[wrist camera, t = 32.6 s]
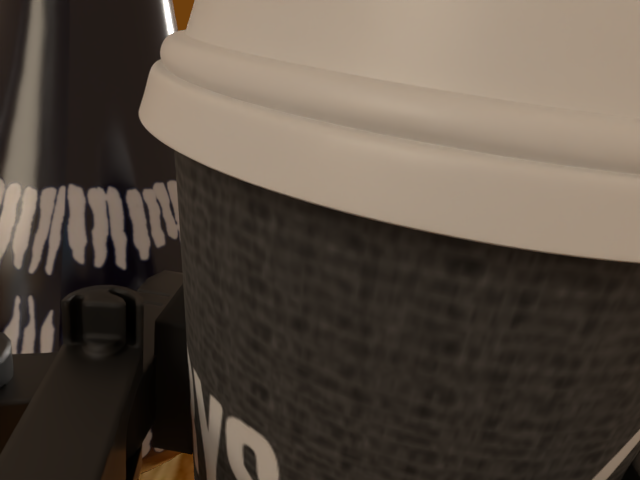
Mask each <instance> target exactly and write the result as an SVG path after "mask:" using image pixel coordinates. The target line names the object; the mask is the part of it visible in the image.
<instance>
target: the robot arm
mask: <svg viewBox="0 0 640 480" xmlns="http://www.w3.org/2000/svg"><path fill="white" fill-rule="evenodd" d="M61 312H62V331H63V344H62V346H61V348H60V350H59V351H58V352H49V353H27V354H12V346H11V340H10V339H9V338H8V336H7V335H6V334H5V333H2V332H0V480H138V478H139V474H140V470H141V466H142V443H143V441H144V439H145V438H146V436H147V434H148V432H149V430H150V429H151V427H152V425H153V432H152V447H153V448H159V449H165V450H170V451H176V452H182V453H187V454H192V453H193V442H192V424H191V406H190V389H189V371H188V354H187V337H186V321H185V304H184V288H183V273H180V272H174V271H168V270H164V271H162V272H160V273H157V274H155V275H153V276H151V277H149V278H147V279H146V280H145V282H144V283H143V284H142V285H141V286H140V287H139V288H138V290H137V291H134V290H132V289H130V288H127V287H122V286H116V285H95V286H90V287H85V288H81V289H79V290H76V291H74V292H72V293H69V294H68V295H67V296H66V297H65V298H64V299H62V300H61ZM621 480H640V451H639V452H638V454H637V455H636V457H635V459H634V460H633V461H632V462H631V464H630V466H629V467H628V469H627V471H626V473H625V474H624V476H623V478H622V479H621Z"/></svg>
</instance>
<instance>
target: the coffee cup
mask: <svg viewBox="0 0 640 480" xmlns="http://www.w3.org/2000/svg"><path fill="white" fill-rule="evenodd" d="M160 57H161V59H160V60H158V61H156V62H155V63H154V64H153V66H152V67H151V70H150V73H149V76H148V80H147V84H146V88H145V92H144V95H143V99H142V102H141V105H140V108H139V118H140V120H141V122H142V124H143V125H144V127H145V128H146V129H147V130H148V131H149V132H150V133H151V134H152V135H153V136H155V137H156V138H157V139H158V140H160V141H161V142H163V143H164V144H166V145H167V146H169V147H170V148H172V149H174V155H175V168H176V182H177V196H178V211H179V226H180V241H181V256H182V272H183V288H184V304H185V321H186V337H187V354H188V371H189V389H190V406H191V424H192V442H193V460H194V479H195V480H621V479H622V478H623V476H624V474H625V473H626V471H627V469H628V467H629V466H630V464H631V462H632V461H633V460H634V459H635V457H636V455H637V454H638V452H639V451H640V0H195V2H194V5H193V9H192V12H191V15H190V19H189V22H188V26H187V29H186V30H181V31H176V32H173V33H171V34H169V35H168V36H167V37H166V38H165V39H164V41H163V43H162V45H161V49H160Z"/></svg>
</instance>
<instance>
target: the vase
mask: <svg viewBox="0 0 640 480" xmlns="http://www.w3.org/2000/svg"><path fill="white" fill-rule="evenodd" d="M176 31H178V29H177V24H176V18H175V13H174V8H173V3H172V0H0V332H2V333H5V334H6V335H7V336H8V338H9V339H10V340H11V346H12V354H27V353H49V352H58V351H59V350H60V348H61V346H62V344H63V331H62V312H61V300H62V299H64V298H65V297H66V296H67V295H68V294H69V293H72V292H74V291H76V290H79V289H81V288H85V287H90V286H95V285H116V286H122V287H127V288H130V289H132V290H134V291H137V290H138V288H139V287H140V286H141V285H142V284H143V283H144V282H145V280H146V279H147V278H149V277H151V276H153V275H155V274H157V273H160V272H162V271H164V270H168V271H174V272H180V273H183V272H182V256H181V241H180V226H179V211H178V196H177V182H176V168H175V155H174V149H172V148H170V147H169V146H167V145H166V144H164V143H163V142H161V141H160V140H158V139H157V138H156V137H155V136H153V135H152V134H151V133H150V132H149V131H148V130H147V129H146V128H145V127H144V125H143V124H142V122H141V120H140V118H139V108H140V105H141V102H142V99H143V95H144V92H145V88H146V84H147V80H148V76H149V73H150V70H151V67H152V66H153V64H154V63H155V62H156V61H158V60H160V59H161V57H160V49H161V45H162V43H163V41H164V39H165V38H166V37H167V36H168V35H169V34H171V33H173V32H176ZM152 432H153V425H152V427H151V429H150V430H149V432H148V434H147V436H146V438H145V439H144V441H143V443H142V466H141V470H140V474H141V473H144V472H147V471H149V470H151V469H153V468H155V467H157V466H159V465H161V464H163V463H165V462H167V461H169V460H171V459H173V458H174V457H176V456H177V455H179V454H180V453H182V452H176V451H170V450H165V449H159V448H153V447H152Z"/></svg>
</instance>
